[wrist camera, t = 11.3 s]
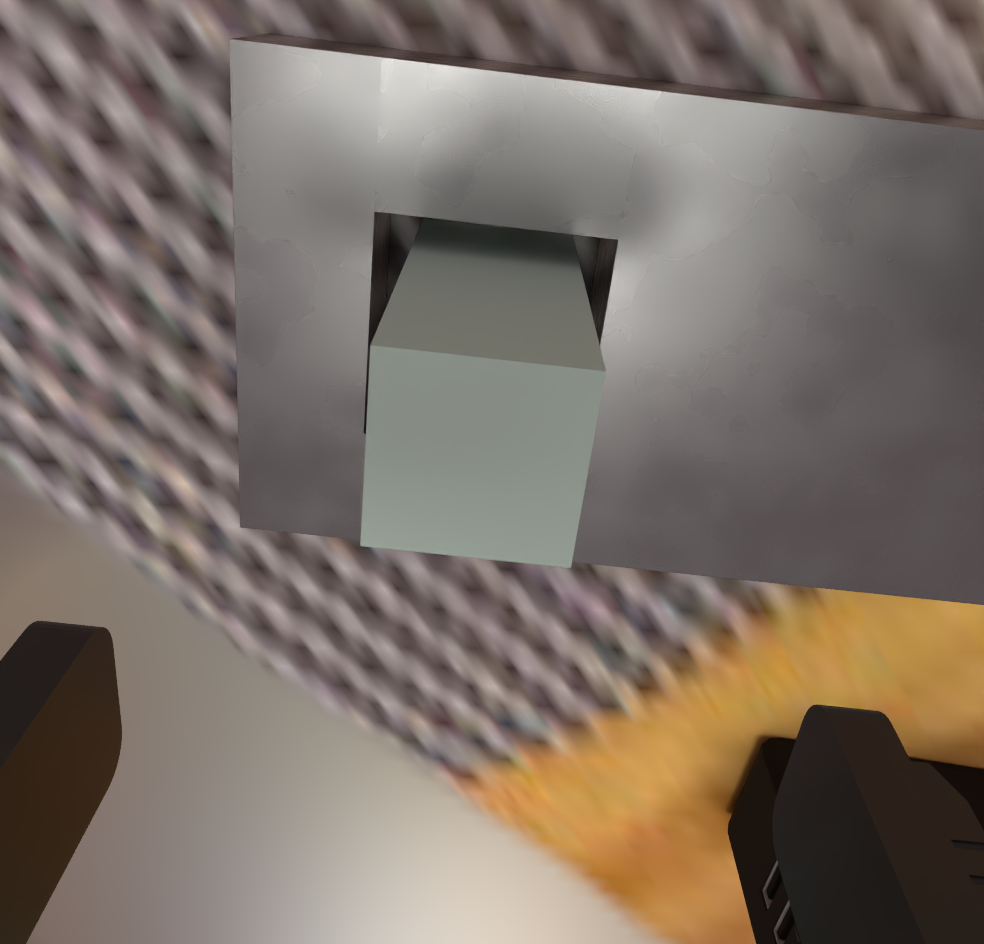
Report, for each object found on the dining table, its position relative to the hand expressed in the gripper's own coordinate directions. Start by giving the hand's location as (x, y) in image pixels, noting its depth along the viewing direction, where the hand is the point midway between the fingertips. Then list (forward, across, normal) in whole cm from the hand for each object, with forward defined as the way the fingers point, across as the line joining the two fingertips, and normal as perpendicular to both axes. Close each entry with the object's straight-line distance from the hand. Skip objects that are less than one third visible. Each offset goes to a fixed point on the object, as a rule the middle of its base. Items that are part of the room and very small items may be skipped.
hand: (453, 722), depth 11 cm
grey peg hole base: (+16, -5, 0) cm, 17 cm away
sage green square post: (+16, 0, 0) cm, 17 cm away
